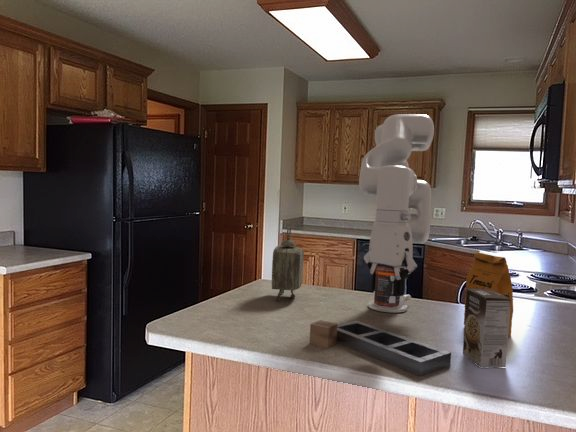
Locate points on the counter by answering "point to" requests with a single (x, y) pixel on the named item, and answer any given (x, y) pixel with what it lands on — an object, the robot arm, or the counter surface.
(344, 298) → the counter surface
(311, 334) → the walnut block
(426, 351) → the rail
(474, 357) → the coffee box
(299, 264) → the tabletop clock
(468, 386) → the counter surface
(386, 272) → the supplement bottle
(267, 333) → the counter surface
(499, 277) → the coffee package
